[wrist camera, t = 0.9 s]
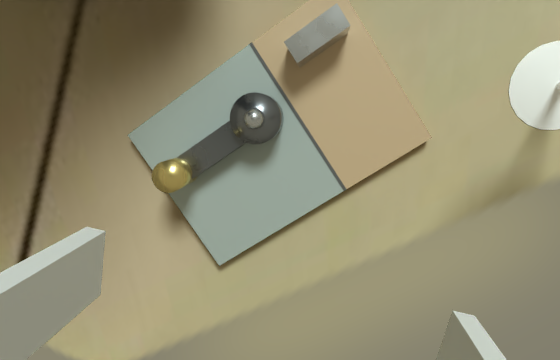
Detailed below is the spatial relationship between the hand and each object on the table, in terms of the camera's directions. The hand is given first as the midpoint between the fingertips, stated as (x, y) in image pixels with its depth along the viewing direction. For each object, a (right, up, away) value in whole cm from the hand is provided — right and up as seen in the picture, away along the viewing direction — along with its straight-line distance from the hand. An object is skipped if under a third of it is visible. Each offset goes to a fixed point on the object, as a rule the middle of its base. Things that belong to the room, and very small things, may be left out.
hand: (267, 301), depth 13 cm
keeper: (+4, +17, +18) cm, 25 cm away
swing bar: (-5, +8, +21) cm, 23 cm away
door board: (0, +9, +21) cm, 23 cm away
